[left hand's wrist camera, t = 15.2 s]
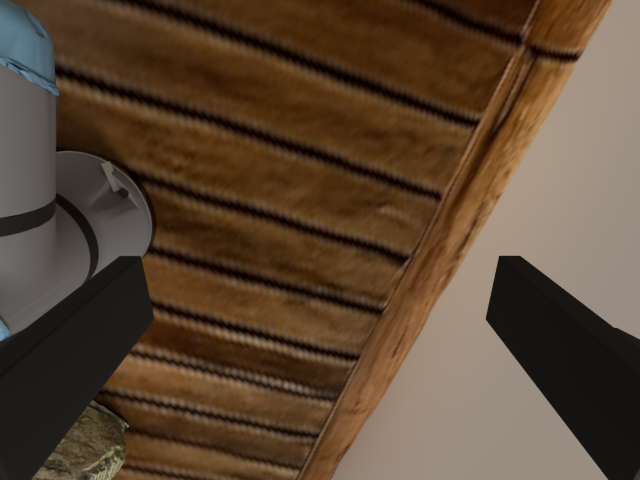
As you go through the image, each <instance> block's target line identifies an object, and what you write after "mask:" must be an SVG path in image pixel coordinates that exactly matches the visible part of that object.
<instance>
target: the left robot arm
mask: <svg viewBox="0 0 640 480" xmlns="http://www.w3.org/2000/svg"><path fill="white" fill-rule="evenodd" d="M59 93H60V92H59V89H58V87H57V86H56V79H55V68H54V49H53V42H52V39H51V36H50V34H49V32H48V30H47V29H46V27H45V26H44V25H43V23H42V22H41V21H40V20H39V19H38V18H37V17H36V16H34V15H33V14H32V13H31V12H29V11H28V10H26V9H25V8H23V7H21V6H19V5H17V4H15V3H13V2H11V1H9V0H0V480H32V479H33V477H34V476H35V475H36V473H37V472H38V471H39V469H40V468H41V467H42V466H43V464H44V463H45V462H46V460H47V459H48V458H49V456H50V455H51V454H52V452H53V451H54V450H55V449H56V447H57V446H58V445H59V443H60V442H61V441H62V439H63V438H64V437H65V435H66V434H67V433H68V432H69V430H70V429H71V428H72V426H73V425H74V424H75V422H76V421H77V420H78V418H79V417H80V416H81V415H82V413H83V412H84V411H85V409H86V408H87V407H88V405H89V404H90V403H91V401H92V400H93V399H94V398H95V396H96V395H97V394H98V392H99V391H100V390H101V388H102V387H103V386H104V384H105V383H106V382H107V381H108V379H109V378H110V377H111V375H112V374H113V373H114V371H115V370H116V369H117V367H118V366H119V365H120V364H121V362H122V361H123V360H124V358H125V357H126V356H127V354H128V353H129V352H130V350H131V349H132V348H133V347H134V345H135V344H136V343H137V341H138V340H139V339H140V337H141V336H142V335H143V333H144V332H145V331H146V330H147V328H148V327H149V326H150V324H151V323H152V322H153V320H154V315H153V311H152V306H151V301H150V297H149V292H148V287H147V283H146V278H145V273H144V268H143V264H142V258H143V257H144V256H145V255H146V253H147V252H148V251H149V249H150V247H151V245H152V243H153V240H154V236H155V230H156V221H155V214H154V210H153V206H152V204H151V201H150V199H149V197H148V195H147V193H146V191H145V190H144V188H143V187H142V185H141V184H140V183H139V182H138V180H137V179H136V178H135V177H134V176H133V175H132V174H131V173H130V172H129V171H127V170H126V169H125V168H124V167H122V166H121V165H120V164H118V163H116V162H115V161H113V160H111V159H109V158H107V157H105V156H102V155H100V154H97V153H94V152H89V151H83V150H66V151H60V152H56V110H57V96H59ZM486 320H487V322H488V323H489V324H490V326H491V327H492V328H493V329H494V331H495V332H496V333H497V335H498V336H499V337H500V339H501V340H502V341H503V343H504V344H505V345H506V347H507V348H508V349H509V350H510V352H511V353H512V354H513V356H514V357H515V358H516V360H517V361H518V362H519V364H520V365H521V366H522V367H523V369H524V370H525V371H526V373H527V374H528V375H529V377H530V378H531V379H532V381H533V382H534V383H535V384H536V386H537V387H538V388H539V390H540V391H541V392H542V394H543V395H544V396H545V398H546V399H547V400H548V401H549V403H550V404H551V405H552V407H553V408H554V409H555V411H556V412H557V413H558V414H559V416H560V417H561V418H562V420H563V421H564V422H565V424H566V425H567V426H568V428H569V429H570V430H571V432H572V433H573V434H574V435H575V437H576V438H577V439H578V441H579V442H580V443H581V445H582V446H583V447H584V449H585V450H586V451H587V452H588V454H589V455H590V456H591V458H592V459H593V460H594V462H595V463H596V464H597V466H598V467H599V468H600V469H601V471H602V472H603V473H604V475H605V476H606V477H607V479H608V480H640V339H638V338H636V337H634V336H632V335H630V334H628V333H626V332H624V331H622V330H620V329H618V328H614V327H612V326H611V325H610V324H608V323H607V322H606V321H605V320H603V319H602V318H601V317H599V316H598V315H597V314H595V313H594V312H593V311H591V310H590V309H589V308H587V307H586V306H585V305H584V304H582V303H581V302H580V301H578V300H577V299H576V298H574V297H573V296H572V295H571V294H569V293H568V292H566V291H565V290H564V289H563V288H561V287H560V286H559V285H558V284H556V283H555V282H554V281H552V280H551V279H550V278H548V277H547V276H546V275H544V274H543V273H542V272H541V271H539V270H538V269H537V268H535V267H534V266H533V265H531V264H530V263H529V262H527V261H526V260H525V259H524V258H522V257H521V256H499V259H498V264H497V268H496V273H495V278H494V283H493V287H492V292H491V297H490V301H489V306H488V311H487V315H486Z"/></svg>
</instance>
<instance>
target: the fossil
mask: <svg viewBox="0 0 640 480" xmlns="http://www.w3.org/2000/svg"><path fill="white" fill-rule="evenodd" d="M128 427H129V425H128V424H127V423H126V422H125V421H124V420H123V419H121V418H119V417H118V416H116V415H115V414H114V413H112V412H111V411H109V410H108V409H106V408H105V407H104V406H101V405H99V404H97V403H96V402H95V401H94V400H92V401H91V403H90V404H89V405H88V407H87V408H86V409H85V411H84V412H83V413H82V415H81V416H80V417H79V418H78V420H77V421H76V422H75V424H74V425H73V426H72V428H71V429H70V430H69V432H68V433H67V434H66V435H65V437H64V438H63V439H62V441H61V442H60V443H59V445H58V446H57V447H56V449H55V450H54V451H53V452H52V454H51V455H50V456H49V458H48V459H47V460H46V462H45V463H44V464H43V466H42V467H41V468H40V469H39V471H38V472H37V473H36V475H35V476H34V477H33V479H32V480H111V479H112V477H113V476H114V475H115V474H116V472H117V471H118V470H119V469H120V467H121V466H122V464H123V463H124V461H125V454H126V452H125V442H124V439H123V434H124V432H125V430H126V429H127V428H128Z"/></svg>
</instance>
